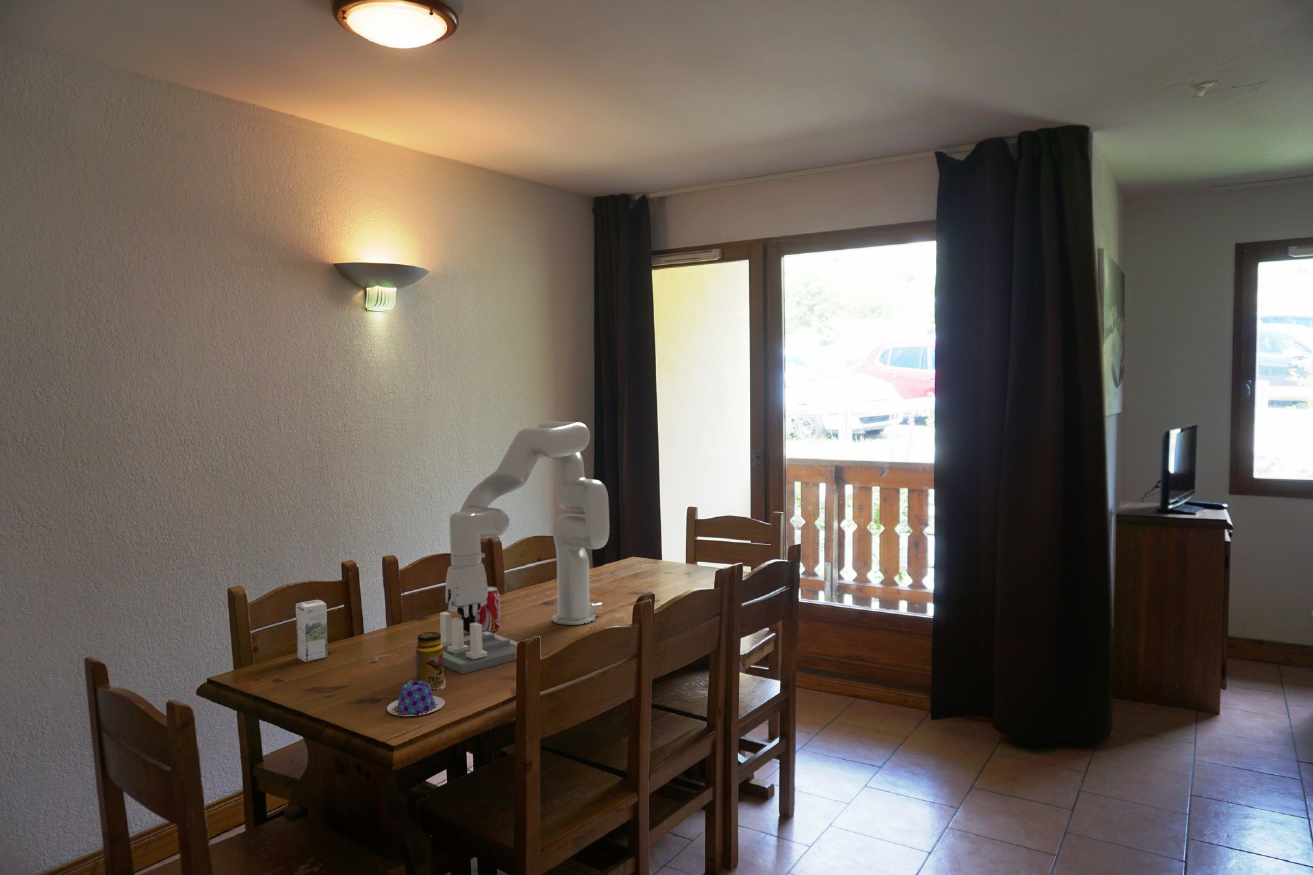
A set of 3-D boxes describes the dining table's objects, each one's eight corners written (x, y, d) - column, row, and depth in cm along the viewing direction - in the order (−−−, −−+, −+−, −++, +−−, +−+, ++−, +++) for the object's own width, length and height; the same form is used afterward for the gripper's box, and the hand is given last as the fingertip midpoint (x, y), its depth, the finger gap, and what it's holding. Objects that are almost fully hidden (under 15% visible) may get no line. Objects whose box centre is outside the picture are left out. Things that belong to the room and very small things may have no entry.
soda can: (494, 634, 236) (493, 591, 235) (471, 632, 237) (470, 591, 237) (504, 627, 243) (503, 586, 242) (481, 626, 244) (480, 585, 244)
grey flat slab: (485, 638, 232) (485, 627, 232) (531, 655, 216) (531, 643, 215) (419, 654, 218) (418, 642, 218) (462, 673, 202) (462, 660, 202)
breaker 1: (449, 640, 222) (449, 610, 222) (456, 643, 220) (456, 613, 219) (436, 643, 219) (435, 613, 219) (442, 646, 217) (442, 616, 216)
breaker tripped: (461, 647, 216) (460, 616, 216) (468, 650, 213) (467, 619, 213) (447, 650, 213) (446, 619, 213) (454, 653, 211) (453, 622, 210)
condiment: (445, 689, 192) (443, 637, 191) (406, 692, 190) (405, 640, 189) (445, 678, 199) (444, 628, 198) (408, 681, 197) (407, 631, 196)
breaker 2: (479, 652, 211) (479, 621, 211) (487, 655, 209) (486, 624, 208) (465, 656, 208) (464, 624, 208) (473, 659, 206) (472, 627, 205)
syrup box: (318, 653, 220) (317, 598, 220) (328, 658, 216) (326, 602, 215) (296, 658, 216) (294, 602, 216) (306, 663, 212) (304, 606, 211)
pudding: (402, 697, 188) (402, 674, 187) (453, 699, 186) (453, 676, 185) (376, 717, 176) (376, 693, 175) (430, 720, 174) (430, 695, 174)
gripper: (483, 553, 222) (486, 621, 223) (432, 562, 212) (435, 634, 213) (499, 557, 217) (501, 627, 218) (447, 567, 206) (450, 640, 208)
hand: (468, 630), depth 215 cm, fingers closed
